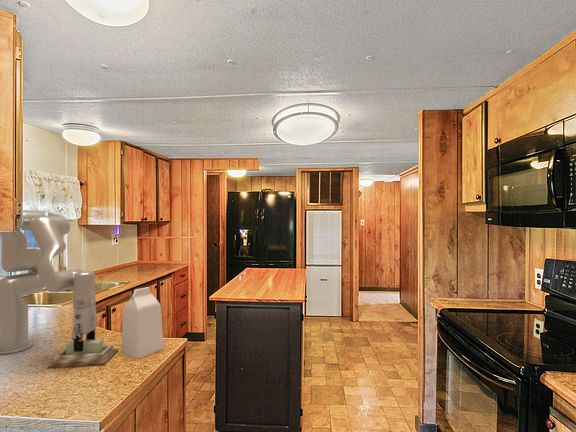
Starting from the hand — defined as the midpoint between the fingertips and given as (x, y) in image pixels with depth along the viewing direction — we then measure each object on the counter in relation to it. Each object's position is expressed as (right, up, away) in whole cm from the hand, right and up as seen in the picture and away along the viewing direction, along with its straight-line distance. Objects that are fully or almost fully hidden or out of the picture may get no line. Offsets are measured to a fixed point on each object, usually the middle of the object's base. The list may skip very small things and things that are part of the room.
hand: (84, 346), depth 130 cm
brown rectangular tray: (0, -5, 0) cm, 5 cm away
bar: (0, -4, 0) cm, 4 cm away
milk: (+19, -5, +8) cm, 22 cm away
